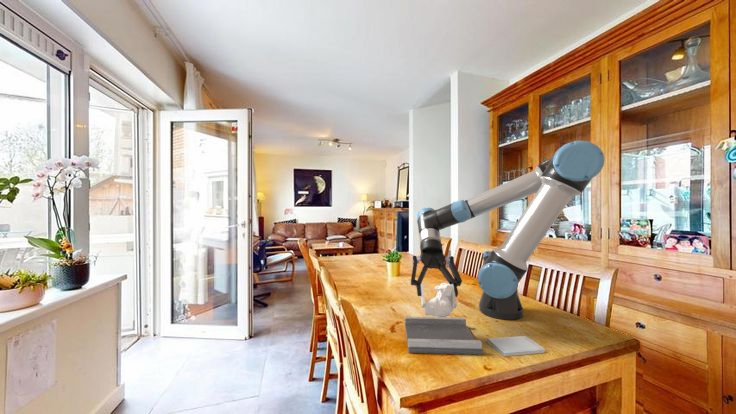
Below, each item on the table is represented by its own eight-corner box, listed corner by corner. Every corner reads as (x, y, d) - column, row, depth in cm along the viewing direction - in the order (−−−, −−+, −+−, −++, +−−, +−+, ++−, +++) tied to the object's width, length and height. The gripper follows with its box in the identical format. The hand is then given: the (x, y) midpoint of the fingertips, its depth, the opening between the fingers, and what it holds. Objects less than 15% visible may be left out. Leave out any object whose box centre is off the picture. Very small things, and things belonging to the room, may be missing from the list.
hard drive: (503, 352, 73) (545, 348, 75) (486, 337, 81) (524, 334, 83) (503, 358, 73) (545, 354, 75) (486, 343, 81) (524, 339, 83)
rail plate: (464, 325, 92) (464, 317, 92) (482, 354, 74) (482, 343, 74) (404, 324, 93) (404, 315, 93) (408, 352, 75) (408, 342, 75)
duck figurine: (427, 327, 80) (444, 304, 74) (413, 305, 86) (428, 282, 80) (455, 317, 87) (473, 296, 81) (441, 298, 92) (457, 276, 86)
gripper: (459, 250, 98) (473, 312, 82) (400, 250, 100) (402, 310, 84) (463, 238, 93) (478, 301, 77) (400, 237, 94) (403, 299, 79)
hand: (439, 306), depth 80 cm, fingers closed on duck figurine, 8 cm apart
